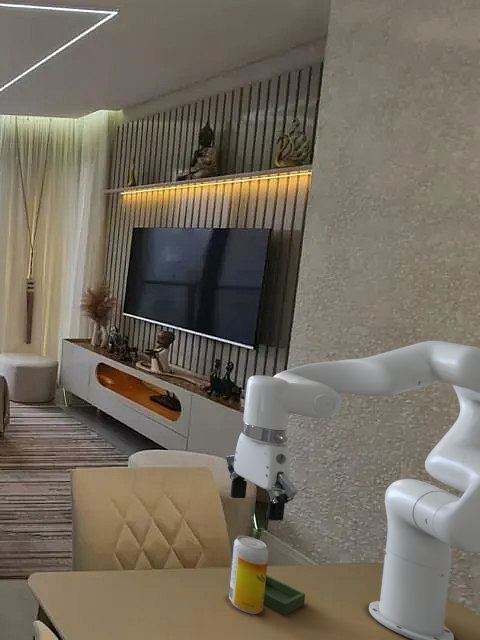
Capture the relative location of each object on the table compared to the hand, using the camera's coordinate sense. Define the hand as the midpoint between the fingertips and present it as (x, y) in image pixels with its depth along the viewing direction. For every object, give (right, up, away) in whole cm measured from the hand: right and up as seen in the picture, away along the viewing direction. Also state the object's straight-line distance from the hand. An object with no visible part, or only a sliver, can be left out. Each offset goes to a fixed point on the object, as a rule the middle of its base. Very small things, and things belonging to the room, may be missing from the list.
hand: (255, 508), depth 118 cm
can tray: (+8, -23, +5) cm, 25 cm away
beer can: (-1, -23, +2) cm, 23 cm away
